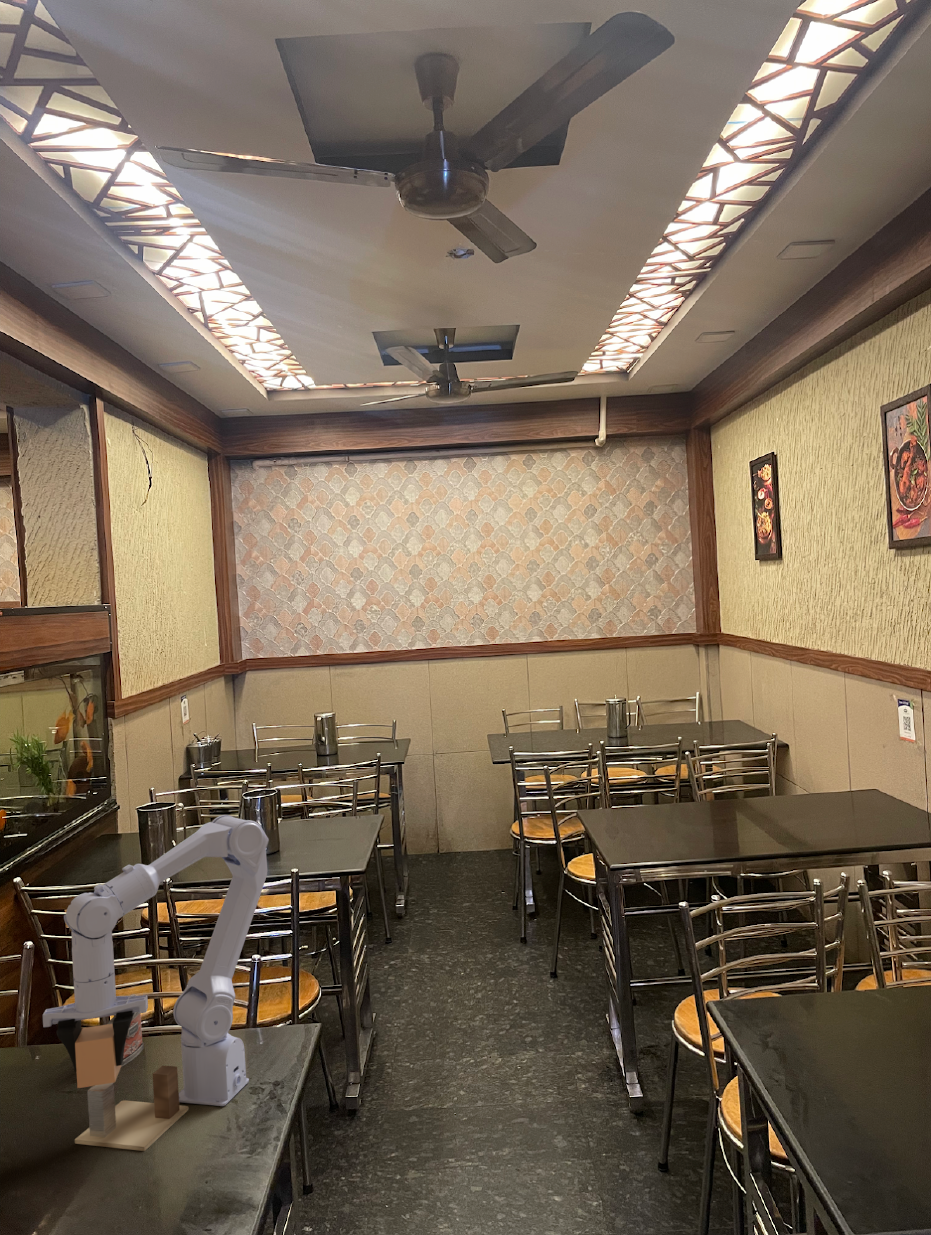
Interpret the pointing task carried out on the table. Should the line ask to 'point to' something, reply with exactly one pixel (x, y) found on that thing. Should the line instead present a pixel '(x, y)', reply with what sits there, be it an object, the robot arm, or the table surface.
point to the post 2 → (166, 1092)
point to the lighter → (132, 1038)
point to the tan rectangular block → (96, 1056)
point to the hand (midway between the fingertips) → (99, 1065)
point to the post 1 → (101, 1110)
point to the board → (133, 1127)
